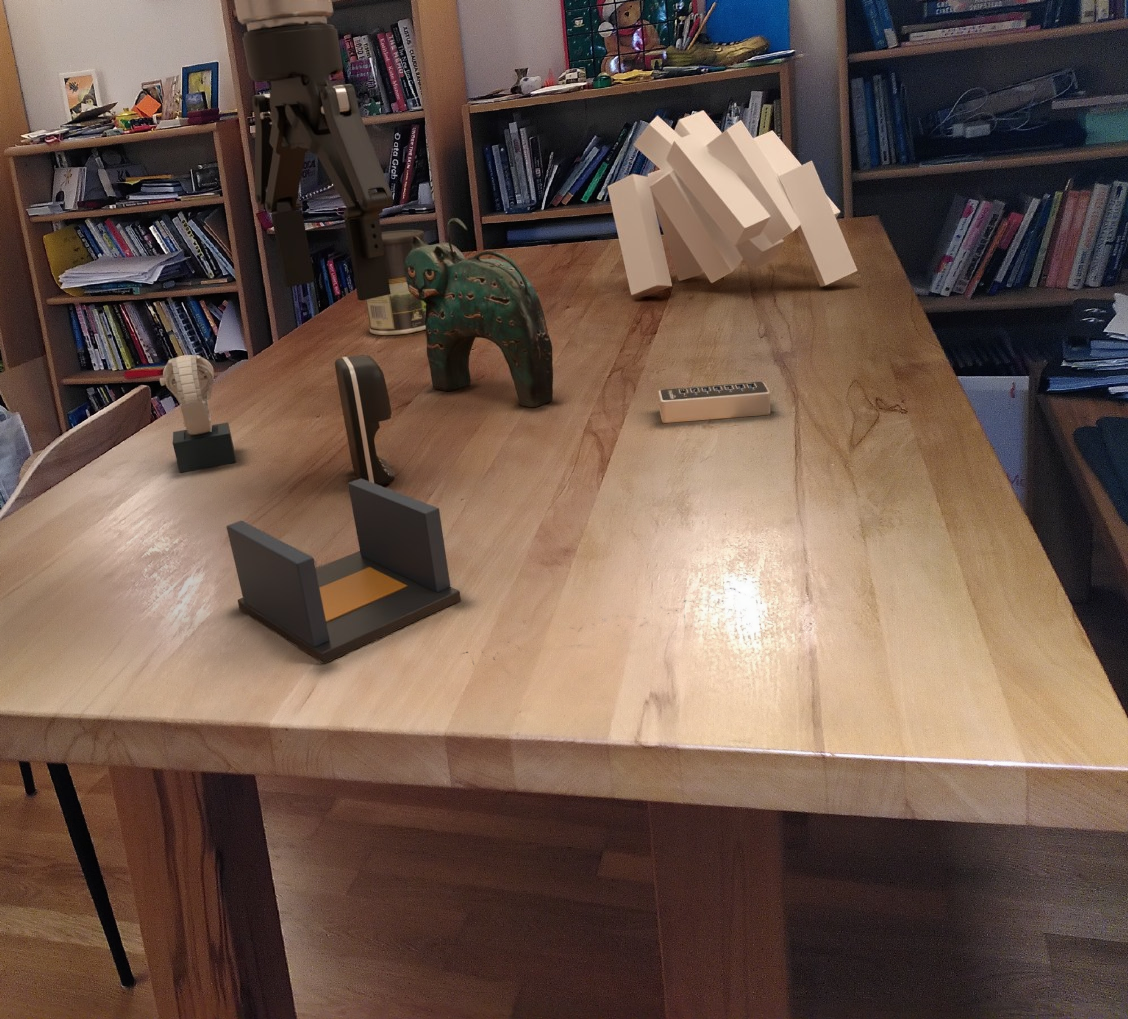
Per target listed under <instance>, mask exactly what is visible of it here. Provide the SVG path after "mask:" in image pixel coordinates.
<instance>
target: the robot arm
mask: <svg viewBox="0 0 1128 1019" xmlns="http://www.w3.org/2000/svg"><path fill="white" fill-rule="evenodd" d="M233 2H234V7H235V11H236V17H237V21H238V22H239V23H240V24H241V25H242V26H246V30H247V31H246V32H244V33H243V36H242V37H241V39H242V44H243V50H244V55H245V59H246V66H247V70H248V75H249V78H250V79H251V80H252V81H254V82H256V83H267V84H268V86H269V93H266V94H255V95H253V96H252V97H251V103H252V110H253V116H254V125H255V126H254V198H255V202H256V204H257V205H258V206H262V205H264V207H265V210H266V212H267V213H269V214H270V217H271V221H272V227H273V233H274V238H275V242H276V248H277V253H278V257H279V263H280V264H279V265H280V269H281V274H282V279H283V283H284V287H285V288H292V287H297V286H302V285H306V284H311V283H315V282H316V280H315V279H316V278H315V273H314V268H313V263H312V258H311V252H310V247H309V241H308V235H307V230H306V226H305V220H304V214H303V210H302V209H303V207H304V205H303V204H302V202H301V200H300V199H299V198H298V195H299V190H300V186H301V180H302V174H303V169H304V164H305V158H306V153H307V152H310V153H311V154H315V155H316V156H317V158H318V160H319V162H320V163H321V165H322V167H323V169H324V171H325V172H326V174H327V176H328V177H329V179H330V181H331V183H332V184H333V187H334V188H335V190H336V192H337V193H338V195H339V197H340V198H341V201H342V202H343V205H344V206H345V210H344V211H343V215H342V219H343V220H344V225H345V232H346V236H347V243H348V248H349V253H350V254H349V255H350V260H351V266H352V272H353V277H354V283H355V290H356V295H357V300H358V301H362V302H363V301H366V300H367V299H372V298H376V297H381V296H385V295H389V294H391V292H390V286H389V280H388V273H387V267H386V261H385V254H384V246H383V239H382V233H381V232H382V227H381V221H380V215H381V214H382V213H383V210H385V208H388V207H392V206H393V205H394V195H393V193H392V191H391V188H390V186H389V183H388V181H387V178H386V176H385V173H384V171H383V168H382V166H381V162H380V160H379V158H378V156H377V154H376V150H375V148H374V145H373V143H372V140H371V138H370V136H369V133H368V131H367V128H366V126H365V122H364V120H363V117H362V116H361V112H360V108H359V103H358V98H357V94H356V90H355V86H354V85H353V84H351V83H348V84H338V85H337V84H335V85H331V83H332V82H331V80H330V76H337V75H339V74H341V72H342V71H343V69H344V66H343V65H344V64H343V60H342V53H341V47H340V41H339V34H338V29H337V28H335V26H334V25H333V24H328V19H330V18H332V16H333V14H334V8H333V1H332V0H233Z"/></svg>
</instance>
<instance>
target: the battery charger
mask: <svg viewBox="0 0 1128 1019" xmlns="http://www.w3.org/2000/svg"><path fill="white" fill-rule="evenodd" d="M334 369H335V374H336V376H335V377H336V381H337V388H338V393H339V398H340V404H341V410H342V415H343V422H344V427H345V432H346V437H347V443H348V444H347V445H348V449H349V455H350V460H351V467H352V469H353V471H354V473H355V476H356V478H357V480H358V479H364V480H367V481H369V482H372V483H374V484H377V485H380V486H384V485H388V484H391V483H393V482H394V481H395V475H394V471H393V470H392V469H391V467H390V465H389V463H388V462H387V461H386V459H384V458H382V457H381V456H379V455H377V450H376V443H375V439H376V438H375V437H376V435H377V432H378V431H379V430H380V428H381V426H380V422H385V421H388V420H390V419H392V413H393V412H392V407H391V401H390V396H389V392H388V387H387V383H386V382H387V381H386V379H385V374H384V373H383V370H382V368H381V367H380V366H379V364H378V362H377V361H376V360H374V358H373V357H371V356H370V355H367V354H359V355H354V356H342V357H341V358H337V359H335V361H334Z"/></svg>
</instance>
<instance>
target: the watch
mask: <svg viewBox="0 0 1128 1019" xmlns="http://www.w3.org/2000/svg"><path fill="white" fill-rule="evenodd" d="M162 375H163V376H162V377H160V378H159V383H160V386H161V387H163V386H166V388H167V389H168V390H169V391H170V393H172V395H173V396H174V397H175V398H176V401H178V403H179V404H180V405H179V407H180V411H181V415H182V418H183V426H184V427H185V428H186V429H182V430H176V431H173V432H172V448H173V451H174V454H175V459H176V463H177V467H178V471H179V473H180V474H181V473H187V472H193V471H197V470H203V469H208V468H213V467H219V466H224V465H225V466H226V465H229V464H234V463H237V460H236V452H235V446H234V442H233V436H232V432H231V428H230V424H229V422H222V423H216V424H212V418H211V413H210V408H209V401H208V400H210V399H211V398H212V390H213V386H214V382H215V370H214V367H213V365H212V363H211V362H210V361H209V360H207V359H206V358H205V357H202V356H201V355H199V354H197V355H196V354H184V355H180V356H177V357H173V358H170V359H168V361H167V363H166V365H165V366H164V368H163V372H162Z"/></svg>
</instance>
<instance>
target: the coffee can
mask: <svg viewBox="0 0 1128 1019" xmlns="http://www.w3.org/2000/svg"><path fill="white" fill-rule="evenodd" d="M424 232H425V231H424V230H421V229H399V230H397V229H396V230H388V231H381V233H382V239H383V246H384V254H385V261H386V267H387V273H388V280H389V286H390V292H391V294H389V295H385V296H381V297H376V298H372V299H367V300H365V306H366V311H367V318H368V325H369V332H370V334H372V335H375V336H376V335H377V336H397V335H398V336H399V335H406V334H407V335H408V334H413V333H419V332H423V331H426V327H425V315H426V303H425V302H424V301H422V300H419V299H417V298H416V297H414V296H413V295H412V294H411V293H410V292H409V290H408V284H407V281H406V274H405V260H406V258H407V256H408V254H409V253H410V251H412V245H413V243H412V241H413V236H416V237H418V238H419V239H420V240H421V241H422V242H424V243H425V238H424V237H425V233H424Z"/></svg>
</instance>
